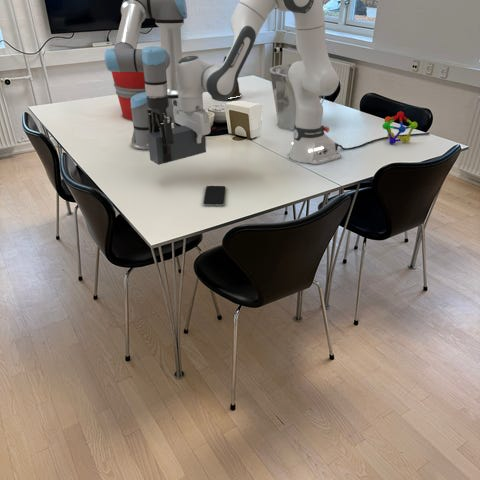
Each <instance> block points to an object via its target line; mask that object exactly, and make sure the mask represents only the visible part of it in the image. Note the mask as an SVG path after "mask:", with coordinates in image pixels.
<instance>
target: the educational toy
mask: <svg viewBox="0 0 480 480" xmlns="http://www.w3.org/2000/svg"><path fill="white" fill-rule="evenodd" d="M397 119H399V124H400V125H399V127H398V126H393V125H391V124H392V123H394V122H395V121H396V120H397ZM403 120H404V121H405V122H407V123H408V124H409V125H407V126H404V123H403ZM417 127H418V122H417V121H411V120H410V119H409V118H408V117H406V116H405V113H404V112H403V111H401V110H400V111H398V112H397V114H396V115H394V116H391V117H390V116H386V117H385V118H384V122H383V123H382V129H383V130H386V132H387V137H388V138H387V139H388V142H389V145H395V144H396V143H397V142H402V141H403V142H404V143H409V142H410V140H411V138H410V134H412V132H413V131H414V130H415V129H417ZM392 129H393V130H397V131H398V132H396V134H395V133H394V132H392ZM408 129H409V131H408V133H407V134H408V135H407V136H401V137H400V136H399V135H401V134H403V133H405V132H406V130H408Z"/></svg>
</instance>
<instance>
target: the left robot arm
mask: <svg viewBox="0 0 480 480" xmlns="http://www.w3.org/2000/svg"><path fill="white" fill-rule="evenodd" d="M187 8H188V7H187V3H186V0H123V1H122V3H121V7H120V14H121V20H120V21H119V22H120V23H119V27H118V31H117V35H116V40H115V43H114V47H112V48H107V49H105V51H104V64H105V67H106V69H107V70H108V71H109V72H111V71H113V72H144V77H145V90H146V92H143V93H139V94H136V95H134V96H133V97H132V98H131V111H132V118H133V120H132V125H133V132H132V135H131V147H132V148H134V149H135V150H141V151H149V143H148V133H153V132H158V131H161V135H162V139H163V143H164V144H163V145H162V146H163V156H164V162H165V163H164V164H167V163H171V162H172V161H171V149H170V145H171V144H174V141H173V132H172V128H173V124H177V123H176V122H175V120H174V113H173V107H174V106H173V104H172V100H173V99H177V98H178V94H179V87H178V83H177V66H178V62H179V61H180V60H181V59H182V58H183V50H182V32H181V30H182V29H181V28H182V27H183V25H184V24H185V19H187V18H188V9H187ZM146 19H154V20H155V21H154V22H155V25H156V26H157V27H158V28H159V36H160V37H159V39H160V46H157V45H156V46H145V47H142V48H137V47H138V43H139V37H140V33H141V28H142V23H143V22H145V20H146ZM170 161H171V162H170ZM166 162H167V163H166Z"/></svg>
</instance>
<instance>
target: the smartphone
mask: <svg viewBox="0 0 480 480" xmlns="http://www.w3.org/2000/svg"><path fill="white" fill-rule="evenodd" d="M225 197H226V186H225V185H207V186H206V187H205V192H204V196H203V206H208V207H209V206H210V207H213V206H214V207H222V206H224V205H225Z"/></svg>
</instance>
